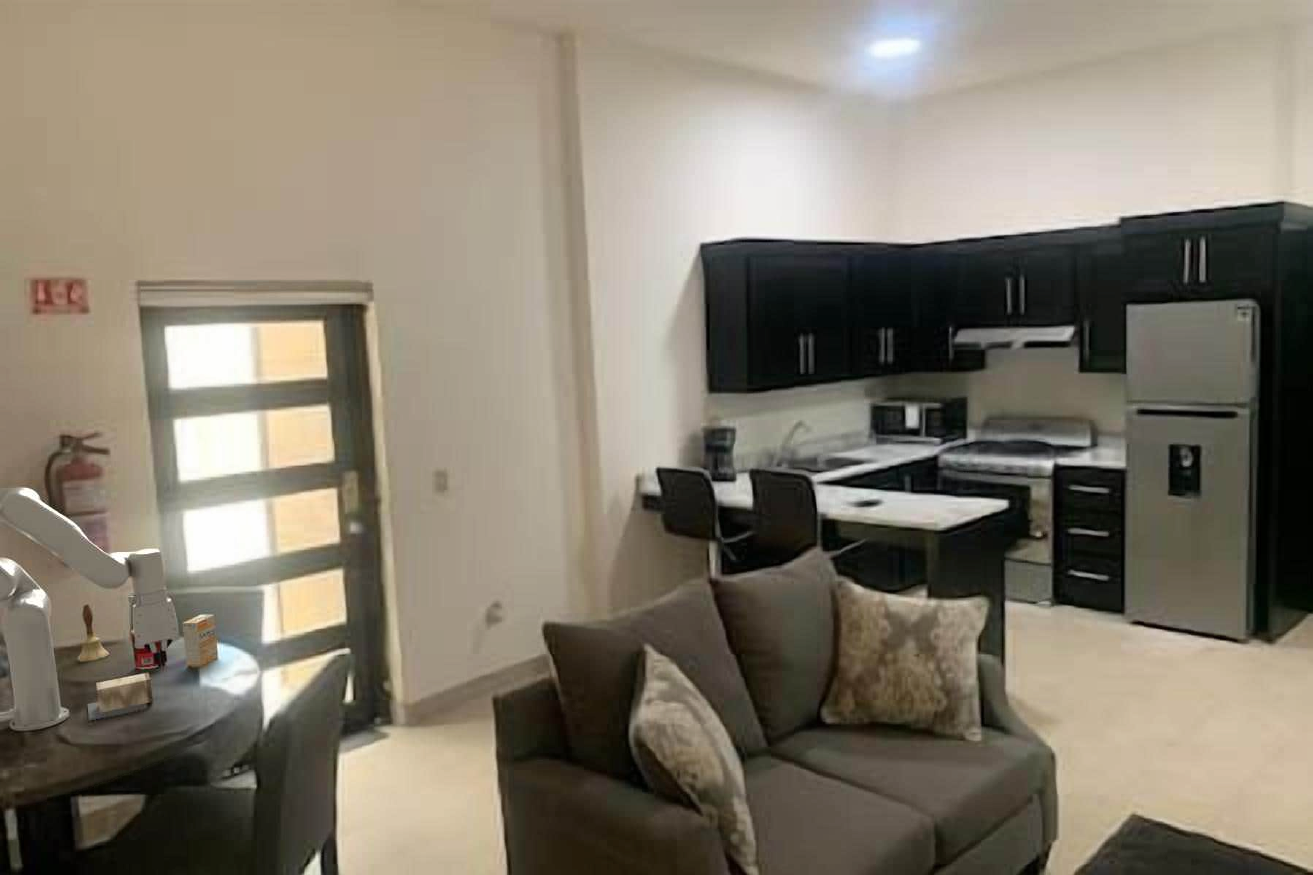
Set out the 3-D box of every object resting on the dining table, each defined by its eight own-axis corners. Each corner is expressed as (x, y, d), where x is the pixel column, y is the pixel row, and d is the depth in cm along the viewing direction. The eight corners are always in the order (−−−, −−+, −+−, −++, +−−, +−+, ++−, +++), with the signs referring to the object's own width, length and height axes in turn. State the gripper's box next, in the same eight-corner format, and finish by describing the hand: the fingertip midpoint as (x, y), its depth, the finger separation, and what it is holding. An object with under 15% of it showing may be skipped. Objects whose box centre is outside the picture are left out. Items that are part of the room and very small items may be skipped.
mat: (89, 721, 253) (88, 719, 252) (87, 706, 263) (87, 704, 263) (147, 708, 259) (147, 706, 259) (143, 694, 269) (143, 692, 269)
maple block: (152, 701, 262) (100, 712, 256) (150, 694, 267) (99, 705, 261) (150, 679, 262) (97, 689, 256) (148, 672, 267) (96, 682, 261)
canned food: (171, 662, 294) (167, 626, 292) (145, 672, 287) (141, 634, 286) (156, 659, 298) (152, 622, 297) (129, 667, 291) (125, 630, 290)
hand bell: (70, 661, 300) (63, 608, 298) (91, 651, 308) (85, 600, 306) (94, 662, 298) (88, 609, 296) (115, 652, 306) (109, 601, 304)
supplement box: (201, 667, 288) (196, 622, 287) (186, 667, 289) (181, 622, 288) (219, 657, 296) (214, 613, 295) (204, 657, 297) (199, 613, 296)
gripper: (119, 606, 256) (130, 676, 258) (184, 594, 263) (194, 662, 266) (117, 600, 262) (128, 668, 265) (181, 588, 270) (190, 654, 272)
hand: (161, 665), depth 265 cm, fingers closed
